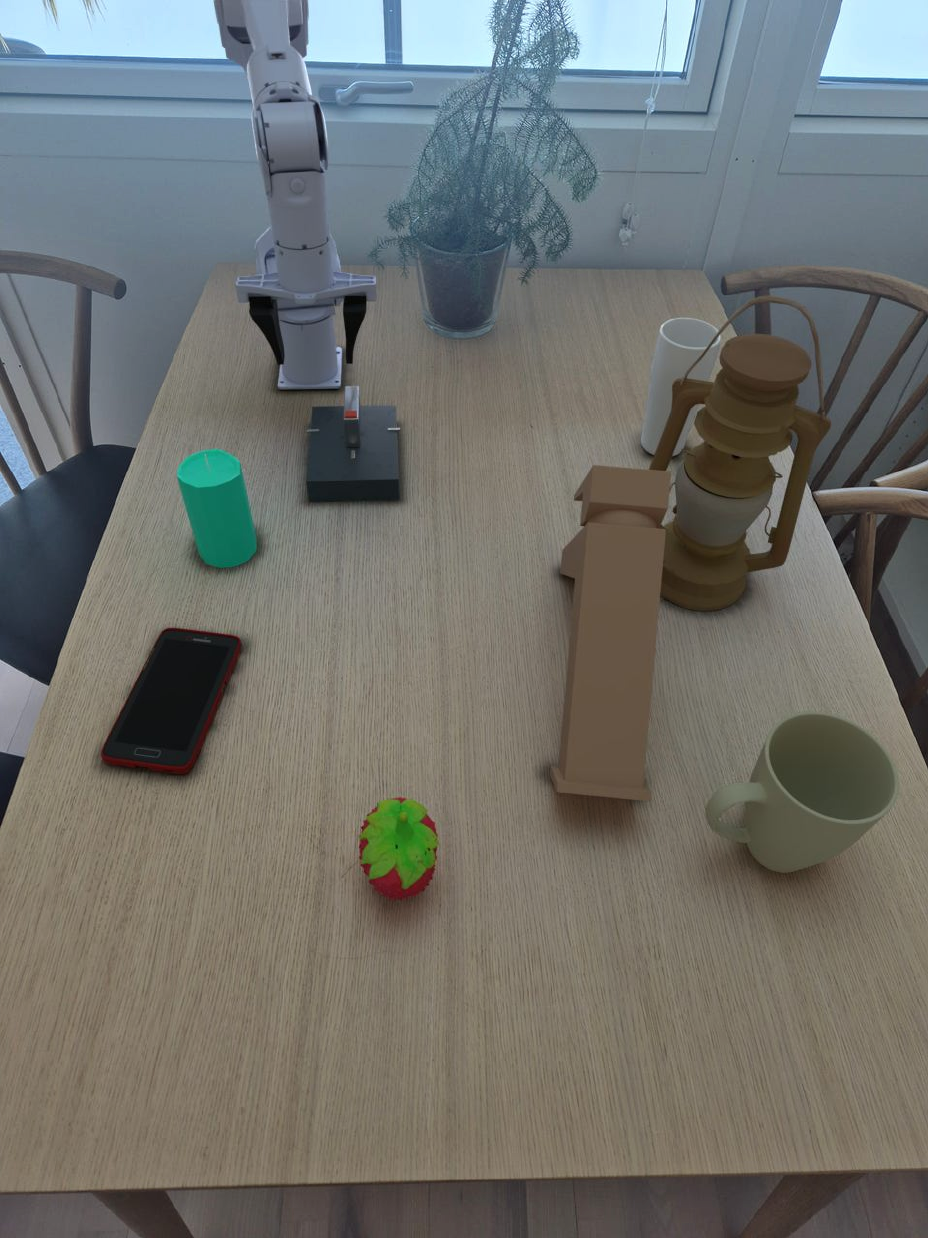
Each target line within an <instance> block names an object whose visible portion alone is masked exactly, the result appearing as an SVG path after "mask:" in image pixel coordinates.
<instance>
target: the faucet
mask: <svg viewBox="0 0 928 1238" xmlns="http://www.w3.org/2000/svg"><path fill="white" fill-rule="evenodd" d="M671 477H672V471H668V470H666V471H657V470H649V469H646V468H645V469H644V468H634V467H633V468H632V467H621V466H618V467H617V466H607V465H595V464H593V465H592V466H591V468H590V470H589V471H588V472H587V474H586V476H585V477H584V478H583V481H582V482H581V483H580V485H579V487H578V488H577V490H576V491H575V493H574V495H573V501H574V502H581V510H580V521H579V523H580V524H579V527H581V529H580V530H579V531H578V533H576V535H574V537H573V538H572V539H571V540H569V542H568V543H567V544H566V545H565V546H564V547H563V548H562V549H561V560H560V569H559V570H560V571H559V573H560V575H564V576H566V577H569V578H572V579H574V587H573V588H574V589H573V598H572V599H573V600H572V611H571V622H570V632H569V635H570V636H569V643H568V655H567V665H566V666H567V668H566V675H565V677H566V678H565V688H564V699H563V711H562V721H561V733H560V741H559V742H560V744H559V756H558V766H552V765H550V772H549V776H550V779H551V781H552V783H553V787H554V789H555V791H556V793H561V794H570V795H581V796H592V797H602V798H611V799H622V800H633V801H641V802H643V801H644V802H652V790H651V788H649V786H648V785H646V784H645V782H644V779H645V769H646V757H647V748H648V747H647V745H648V736H649V735H648V734H649V725H650V724H649V723H650V713H651V702H652V691H653V680H654V679H653V677H654V670H655V669H654V667H655V657H656V645H657V635H658V624H659V613H660V612H659V611H660V600H661V596H660V591H661V580H662V569H663V558H664V547H665V535H666V529H658V528H659V527H660V525H662V523H663V520H664V518H665V516H666V514H667V511H668V509H669V502H670V501H669V500H670V493H669V491H670V492H671V490H670V486H671V479H672V478H671Z"/></svg>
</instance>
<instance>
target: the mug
mask: <svg viewBox="0 0 928 1238" xmlns="http://www.w3.org/2000/svg"><path fill="white" fill-rule="evenodd" d="M899 792H900V778H899V772H898V769H897V766H896V763H895V761H894V759H893V757H892V756H891V754H890V753H889V751H888V750H887V749H886V747H885V746H884V745H883V744H882V743H881V742H880V740H878V738H877V737H876V736H874V735H873V734H872V732H870V731H869V730H867V729H865V728H864V727H862V726H861V725H860V724H858V723H856V722H854V721H852V720H850V719H848V718H846V717H843V716H842V715H841V716H840V715H837V714H833V713H831V712H825V711H814V710H808V711H800V712H795V713H791V714H789V715H787V716H785V717H783V718H781V719H780V720H778V721H777V722H776V723H775V724H774V725H773V726H772V727H771V729H770V730H769V732H768V734H767V736H766V738H765V741H764V743H763V746H762V748H761V750H760V753H759V755H758V758H757V760H756V763H755V765H754V767H753V770H752V772H751V774H750V778H749V781H746V782H745V781H743V782H741V781H740V782H735V783H730V784H727V785H725V786H723V787H721V788H719V789H717V791H715V793H713V794H712V795H711V797H710V798H709V800H708V802H707V804H706V806H705V811H704V814H705V818H706V822H707V823H708V826H709V827H710V829H711V830H712V831H713V832H714V833H715V834H717V835H718V836H720V837H722V838H725V839H728V840H730V841H734V842H738V843H742V844H746V846H747V849H748V850H749V852H750V854H751V856H752V857H753V859H755V860H756V861H757V862H758V863H759V864H760V865H761V866H763V867H765V868H766V869H768V870H769V871H773V872H776V873H781V874H789V873H793V872H797V871H799V870H803V869H807V868H809V867H812V866H815V865H819V864H822V863H825V862H827V861H829V860H832V859H834V858H835V857H838V856H840V855H841V854H842V853H844V852H846V851H847V850H848V849H850V847H852V846H853V845H854V844H855V843H857V842H858V841H859V840H860V839H861V838H862V837H863V836H864V835H865V834H866V833H868V832H869V831H870V830H871V829H872V828H873V827H874V826H875V825H876V824H877V823H878V822H879V821H880V820H882V819H883V818H884V817H885V816H886V815H887V814H888V813H889V812H890V811H891V810H892V808H893V807H894V805H895V804H896V803H897V799H898V796H899ZM742 803H744V826H743V827H739V826H734V825H732V824H730V823H727V822H724V821H721V820H719V819H720V817H721V816H722V815H723V814H724V813H725V812H727V811H728V810H729V809H731V808H732V807H735V806H737V805H739V804H742Z"/></svg>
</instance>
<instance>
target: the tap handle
mask: <svg viewBox="0 0 928 1238" xmlns="http://www.w3.org/2000/svg"><path fill="white" fill-rule="evenodd" d="M343 395H344V397H343V399H344V401H343V406H344V428H345V439H346V447H360V436H361V411H360V406H361V399H360V398H361V397H360V387H359V386H358V385H345V386H344V394H343Z"/></svg>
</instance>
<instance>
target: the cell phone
mask: <svg viewBox="0 0 928 1238" xmlns="http://www.w3.org/2000/svg"><path fill="white" fill-rule="evenodd" d="M242 646H243V644H242V640H241V638H240V637H239V636H237V635H233V634H229V633H220V632H212V631H206V630H205V631H204V630H197V629H189V628H182V627H167V628H165V629H163V630H162V631H161V632H160V634H159V636H158V637H157V639H156V640H155V643H154V645H153V646H152V649H151V651H150V652H149V654H148V657H147V658H146V661H145V663H144V664H143V666H142V668H141V670H140V672H139V674H138V676H137V678H136V679H135V682H134V684H133V686H132V687H131V690H130V692H129V693H128V696H127V698H126V700H125V701H124V704H123V705H122V708H121V710H120V711H119V714H118V715H117V718H116V720H115V721H114V723H113V726H112V728H111V729H110V732H109V733H108V736H107V738H106V739H105V742H104V744H103V747H102V749H101V752H100V753H101V754H100V757H101V758H102V761H103V762H104V763H106V764H108V765H112V766H118V767H122V766H125V767H126V768H131V769H132V768H133V769H136V768H137V767H144V768H148V769H149V771H155V772H161V773H168V774H169V773H170V774H177V775H180V774H183V775H184V774H187V773H188V772H190V771H191V770H192V768H193V767H194V764H195V763H196V761H197V758H198V756H199V753H200V750H201V748H202V746H203V744H204V741H205V738H206V736H207V733H208V731H209V729H210V726H211V724H212V721H213V719H214V717H215V714H216V712H217V709H218V706H219V704H220V702H221V699H222V697H223V695H224V693H223V692H224V690H225V688H226V686H227V685H228V682H229V680H230V677H231V675H232V673H233V671H234V668H235V665H236V662H237V660H238V658H239V657H240V653H241V650H242Z"/></svg>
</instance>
